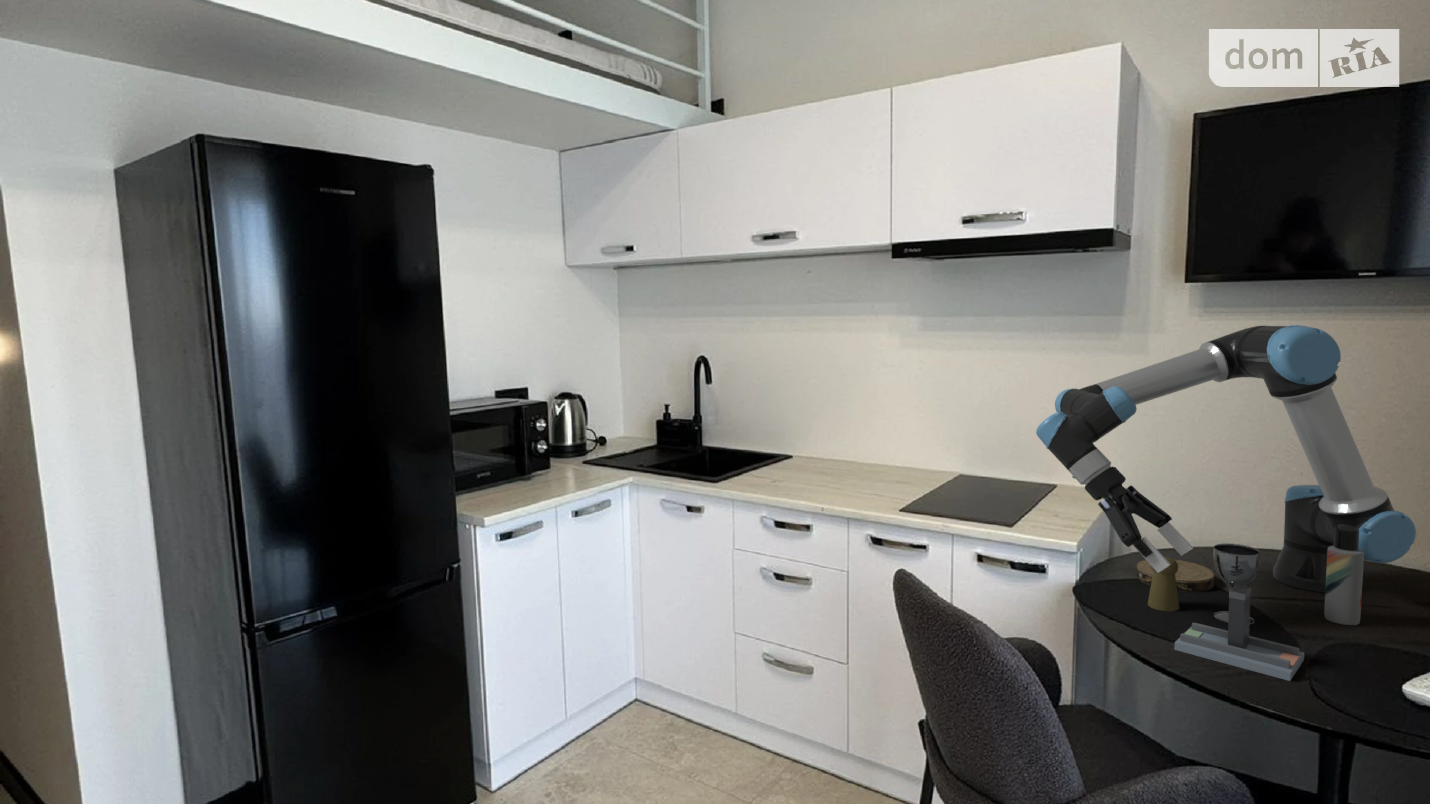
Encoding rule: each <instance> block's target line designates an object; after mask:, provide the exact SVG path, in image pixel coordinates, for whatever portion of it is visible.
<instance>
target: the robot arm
mask: <svg viewBox="0 0 1430 804" xmlns="http://www.w3.org/2000/svg"><path fill="white" fill-rule="evenodd" d="M1341 359H1342V357H1341V349H1340V347H1339V345H1338V343H1337V341H1336V340H1335V339H1334V338H1333V336H1332V335H1330V334H1329V333H1328V332H1326V331H1324V330H1323V329H1321V328H1316V327H1313V326H1310V327H1309V326H1306V325H1300V324H1299V325H1298V324H1297V325H1296V324H1295V325H1293V324H1292V325H1255V326H1251V327H1247V328H1244V329H1243V328H1242V329H1240V330H1237V331H1234V332H1232V333H1229V334H1226V335H1223V336H1220V337H1218V338H1214V339H1212V340H1209V341H1205V342H1203V343H1201V344H1200V346H1199V349H1196V350H1193V351H1190V352H1187V353H1185V354H1182V355H1181V354H1180V355H1178V356H1176V357H1172V358H1169V359H1167V360H1163V361H1160V362H1158V363H1154V364H1152V365H1148V366H1145V367H1142V368H1139V369H1136V370H1133V371H1130V372H1128V373H1124V374H1121V375H1118V376H1114V377H1112V378H1109V379H1106V380H1103V381H1100V382H1097V383H1095V384H1090V385H1088V386H1085V387H1082V388H1079V389H1078V388H1067V389H1064V390H1062V391H1061V392H1060V393H1059V394H1058V395H1057V396H1056V399H1055V401H1054V409H1055V411H1056V412H1055V413H1052V414H1051V415H1049V416H1048V417H1046V418H1045V419H1044V420H1042V422H1041V423H1040V424H1039V425H1038V426H1037V428H1036V431H1035V432H1036V433H1035V434H1036V436H1037V437H1038V439H1039V440H1040V441H1041V442H1042V443H1043V445H1044V446H1045V447H1046V449H1047V450H1048V451H1049V452H1051V454H1052V455H1053V456H1054V457H1055V458H1056V459H1057V460H1058V461H1059V462H1060V463H1061V465H1063V467H1064V468H1065V469H1066V470H1067V471H1068V472H1069V474H1071V477H1072V479H1074V480H1077V482H1078V483H1079V484H1080V485H1083V486H1084V485H1085V486H1084V490H1085V491H1086V492H1087V493H1088V494H1089V495H1090V496H1091V497H1092V499H1093V500H1094V501H1099V502H1098V503H1097V505H1098V507H1099V508H1100V509H1101V510H1102V512H1103V513H1104V514H1105V515H1106V517H1107V519H1108V520H1109V522H1110V524H1111V526H1112V527H1113V529H1114V530H1115V533H1116V534H1117V536H1118V537H1119V539H1120V541H1121V542H1122V543H1123V545H1125V546H1126V547H1128V548H1129V547H1131V546H1133V547H1134V548H1135V549H1136V550H1137V551H1138V553H1139V554H1140V555H1141V556H1142V557H1143V558H1144V560H1147V561H1148V562H1149V564H1150V565H1151V566H1152V567H1153V568H1154V569H1155V570H1156V571H1157V572H1158V573H1159V572H1160V571H1162V570H1163V569H1165V568H1166V567H1168V566H1169V565H1171V564H1170V563H1169V562H1168V561H1167V560H1166V559H1165V558H1164V557H1165V556H1164V555H1162V553H1161V552H1160V551H1159V550H1158V549H1157V548H1156V547H1155V546H1154V545H1153V544H1152V542H1151V541H1150V540H1149V539H1148V538H1147V537H1146V536H1143V537H1142V534H1141V532H1140V530H1139V528H1138V526H1137V523H1136V521H1135V518H1134V516H1133V514H1134V515H1136V516H1138V517H1139V518H1141V519H1143V520H1144V521H1146V522H1147V523H1150V524H1151V525H1153V526H1154V527H1156V528H1157V532H1159V534H1160V535H1161V536H1162V537H1163V538H1164V539H1165V540H1166V541H1167V542H1168V544H1170V546H1171V547H1172V548H1173V549H1175V550H1176V552H1177V553H1178V554H1179V555H1180V557H1182V556H1183V555H1185V554H1187V553H1189V552H1190V551H1192V550H1193V549H1194V547H1193V546H1192V545H1191V544H1190V542H1189V541H1187V539H1186V538H1185V537H1184V536H1183V535H1182V534H1181V533H1180V532H1179V531H1178V530H1177V529H1176V528H1175V527H1174V526H1173V525H1172V523H1170V522H1171V521H1172V520H1173V518H1172V517H1171V516H1170V515H1169V514H1168V513H1167V512H1165V511H1164V510H1163V509H1162V508H1160V507H1159V506H1158V505H1156V504H1155V503H1154V502H1153V501H1151V500H1150V499H1148V498H1147V497H1146V496H1145V495H1143V494H1141V492H1139V491H1138V490H1137V489H1136V487H1134V486H1133V485H1129V486H1128V487H1126V488H1125V486H1123V484H1124V483H1125V482H1126V480H1127V479H1126V477H1125V476H1124V474H1123V473H1121V472H1120V470H1119V469H1118V468H1117V467H1115V466H1112V461H1110V460H1109V458H1108V457H1107V456H1105V454H1104V452H1102V451H1101V450H1100V449H1099V448H1098V447H1096V445H1095V444H1094V443H1096V442H1097V441H1099V440H1100V439H1101V438H1103V437H1105V436H1106V435H1108V434H1109V433H1111V432H1112V431H1113V430H1115V429H1116V428H1118V427H1119V426H1120V425H1122V424H1125V423H1126V421H1128V420H1129V419H1130V418H1132V416H1134V415H1135V414H1136V412H1137V405H1140V404H1143V403H1146V402H1149V401H1152V400H1155V399H1158V398H1160V397H1161V398H1162V397H1165V396H1166V395H1167V396H1168V395H1171V394H1174V393H1177V392H1179V391H1183V390H1186V389H1189V388H1193V387H1195V386H1199V385H1201V384H1205V383H1207V382H1210V381H1213V382H1217V383H1222V382H1225V381H1228V380H1233V379H1239V378H1254V379H1255V378H1257V379H1262V380H1263V382H1264V383H1265V386H1266V388H1267V390H1268V392H1269V393H1268V394H1269V395H1270V396H1271V397H1272V398H1274V399H1276V400H1279V401H1281V402H1282V404H1283V406H1284V408H1285V411H1286V413H1287V414H1288V417H1289V420H1290V421H1291V423H1292V426H1293V428H1294V431H1295V433H1296V435H1297V437H1298V440H1299V442H1300V444H1301V446H1302V449H1303V451H1304V454H1305V455H1306V458H1307V461H1308V463H1309V465H1310V468H1311V470H1312V471H1313V472H1312V473H1313V474H1314V476H1315V479H1316V481H1317V483H1318V484H1299V485H1292V486H1290V487H1288V488H1287V490H1286V491H1285V492H1286V493H1285V499H1284V524H1283V525H1284V527H1283V530H1284V532H1283V546H1282V549H1281V550H1280V552H1279V555H1278V557H1277V560H1276V562H1275V564H1274V565H1273V569H1272V570H1273V571H1272V573H1273V574H1272V577H1273V578H1274V579H1275V580H1276V581H1278V582H1280V583H1282V584H1284V585H1287V586H1290V587H1294V588H1297V589H1301V590H1306V591H1313V592H1319V593H1325V589H1326V569H1327V551H1328V547H1330V546H1333V544H1334V529H1335V527H1337V525H1340V524H1345V525H1350V526H1353V527H1355V528H1358V529H1359V546H1358V549H1360V550H1362V551H1363V552H1364V561H1368V562H1371V563H1375V564H1387V563H1392V562H1394V561H1396V560H1399V559H1401V558H1402V557H1404V556H1405V555H1406V554H1407V553H1408V552H1409V551H1410V550H1411V547H1412V545H1413V544H1414V543H1415V541H1416V536H1417V530H1416V529H1417V528H1416V525H1415V523H1414V521H1413V520H1412V519H1411V517H1409V516H1408V515H1406V514H1405V513H1404V512H1402V511H1399V510H1395V509H1394V507H1393V505H1392V502H1391V500H1390V498H1389V496H1388V493H1387V492H1386V491H1385V490H1384V489H1382V488H1380V487H1377V486H1374V484H1373V482H1372V479H1371V477H1370V475H1369V472H1368V470H1367V468H1366V465H1365V463H1364V462H1365V461H1364V460H1363V458H1362V456H1361V453H1360V451H1359V449H1358V447H1357V443H1356V441H1355V439H1354V436H1353V435H1352V433H1351V430H1350V428H1349V426H1348V423H1347V421H1346V418H1345V416H1344V413H1343V412H1342V409H1341V406H1340V405H1339V402H1338V399H1337V396H1336V395H1335V393H1334V390H1333V388H1332V387H1333V386H1334V385H1335V383H1336V382H1337V380H1338V377H1337V374H1336V372H1337V371H1338V369H1339V365H1338V364H1339V363H1340V362H1341ZM1101 499H1102V500H1101ZM1100 500H1101V501H1100Z"/></svg>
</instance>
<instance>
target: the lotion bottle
mask: <svg viewBox="0 0 1430 804" xmlns="http://www.w3.org/2000/svg"><path fill="white" fill-rule="evenodd" d="M1358 546H1359V529H1358V528H1355V527H1353V526H1350V525H1345V524H1340V525H1337V527H1335V529H1334V544H1333V546H1330V547H1328V551H1327V569H1326V589H1325V592H1324V593H1325V594H1324V609H1323V610H1324V611H1323V613H1324V614H1323V615H1324V618H1325V619H1326V620H1327V621H1330V622H1332V623H1334V624H1339V625H1343V626H1358V625H1359V624H1360V623H1361V617H1362V616H1361V614H1362V612H1361V611H1362V597H1363V596H1362V595H1363V577H1364V561H1365V560H1364V552H1363V551H1362V550H1360V549H1358Z"/></svg>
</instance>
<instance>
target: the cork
mask: <svg viewBox="0 0 1430 804" xmlns="http://www.w3.org/2000/svg"><path fill="white" fill-rule="evenodd" d="M1163 557H1164V558H1165V559H1166V560H1167V561H1168V562H1169V563H1170V564H1171V565H1169V566H1168V567H1166V568H1165V569H1163V570H1162V571H1160V572H1159V573H1158V572H1157V571H1156V570H1155V569H1154V568H1153V567H1152V566H1151V569H1152V570H1153V577H1152V583H1151V585H1150V588H1149V594H1148V595H1149V596H1148V600H1147V605H1148V606H1149V607H1150V608H1151V609H1154V610H1157V611H1162V612H1178V611H1179V610H1180V601H1179V595H1178V591H1177V585H1176V578H1175V574H1176V573H1177V571H1178V563H1177V562H1176V560H1177V559H1175V558H1172V557H1167V556H1163Z"/></svg>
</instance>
